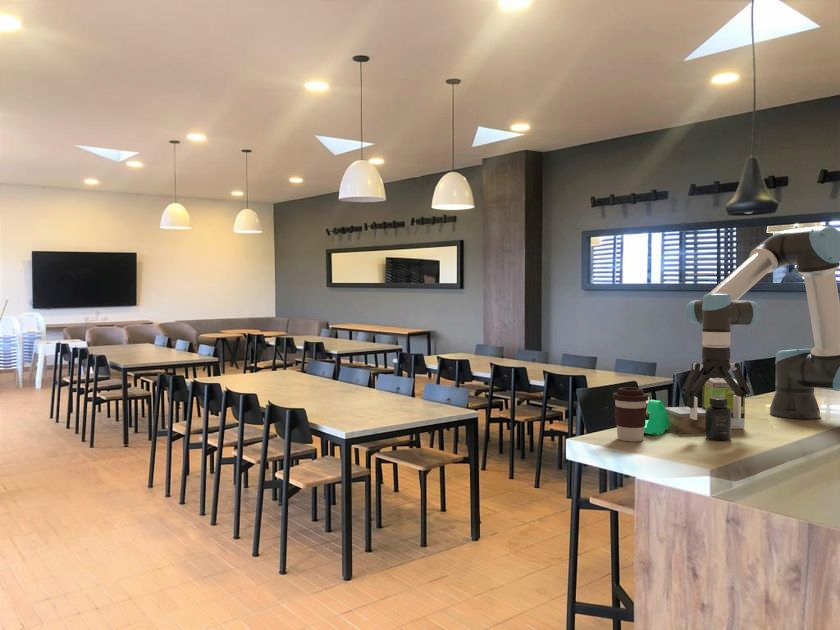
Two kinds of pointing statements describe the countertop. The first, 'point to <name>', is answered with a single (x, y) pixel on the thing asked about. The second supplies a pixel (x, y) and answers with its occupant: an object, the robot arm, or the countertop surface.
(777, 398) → the robot arm
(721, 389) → the tea box
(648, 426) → the camera mount
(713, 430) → the supplement bottle
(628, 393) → the coffee cup
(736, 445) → the countertop surface
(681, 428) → the walnut stand
